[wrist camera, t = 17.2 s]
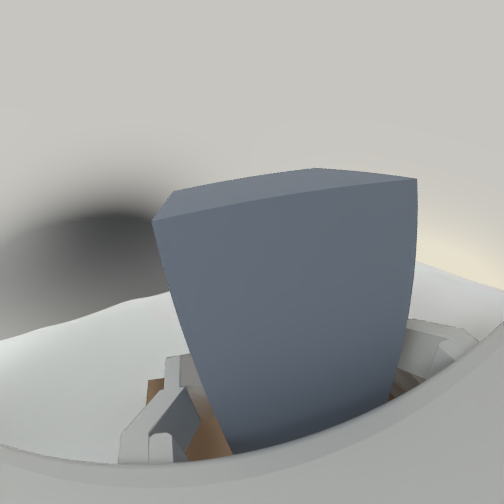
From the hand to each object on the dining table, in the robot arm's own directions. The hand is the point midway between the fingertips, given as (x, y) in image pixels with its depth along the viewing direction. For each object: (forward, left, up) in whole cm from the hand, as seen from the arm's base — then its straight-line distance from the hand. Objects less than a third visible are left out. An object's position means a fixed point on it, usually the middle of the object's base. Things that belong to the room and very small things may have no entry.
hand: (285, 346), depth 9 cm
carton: (+1, -1, -7) cm, 7 cm away
